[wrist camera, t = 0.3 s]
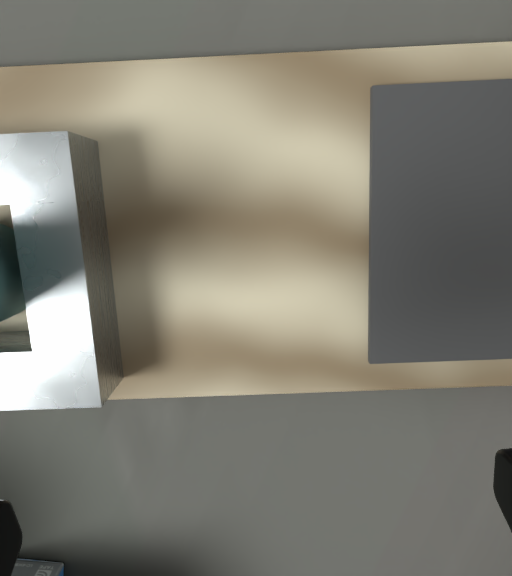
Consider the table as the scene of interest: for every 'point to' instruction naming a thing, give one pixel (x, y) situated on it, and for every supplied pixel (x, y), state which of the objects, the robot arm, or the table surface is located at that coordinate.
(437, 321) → the dark gray rubber pad
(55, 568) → the label tape box
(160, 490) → the table surface
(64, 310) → the square metal frame plate
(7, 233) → the teal dowel
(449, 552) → the table surface
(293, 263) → the birch board
